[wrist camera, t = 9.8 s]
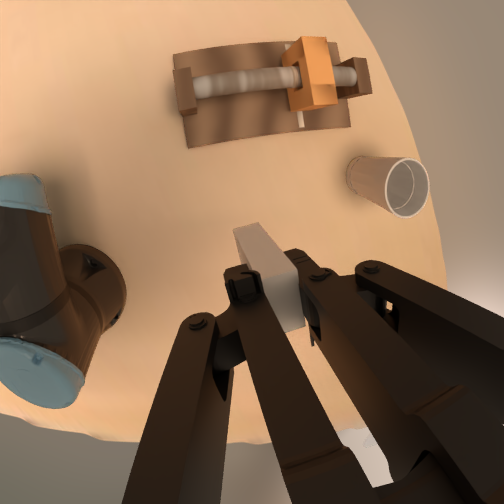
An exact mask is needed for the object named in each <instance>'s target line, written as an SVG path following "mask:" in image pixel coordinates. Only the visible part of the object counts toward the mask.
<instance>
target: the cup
mask: <svg viewBox="0 0 504 504" xmlns="http://www.w3.org/2000/svg"><path fill="white" fill-rule="evenodd" d="M346 181H347V184H348V186H349V188H350V189H351V190H352V191H353V192H355V193H357V194H359V195H361V196H363V197H365V198H367V199H368V200H370V201H372V202H374V203H376V204H377V205H379V206H381V207H383V208H384V209H386V210H387V211H389V212H391V213H392V214H394V215H395V216H397V217H399V218H404V219H406V218H411V217H413V216H415V215H417V214H418V213H419V212H420V211H421V210H422V208H423V207H424V205H425V203H426V201H427V199H428V195H429V188H430V185H429V177H428V174H427V171H426V169H425V168H424V166H423V165H422V164H421V163H420V162H419V161H418V160H416V159H414V158H397V157H394V158H392V157H365V156H360V157H357V158H355V159H353V160H352V161H351V162H350V164H349V165H348V168H347V171H346Z"/></svg>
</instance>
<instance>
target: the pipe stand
mask: <svg viewBox="0 0 504 504" xmlns="http://www.w3.org/2000/svg"><path fill="white" fill-rule="evenodd" d="M295 42H296V41H287V42H262V43H248V44H237V45H228V46H220V47H213V48H206V49H200V50H194V51H188V52H183V53H178V54H173V58H174V65H175V70H173V76H174V82H175V89H176V95H177V101H178V107H179V112H180V113H181V115H182V116H183V121H184V127H185V132H186V138H187V144H188V149H189V148H193V147H198V146H203V145H208V144H214V143H219V142H225V141H230V140H236V139H243V138H249V137H256V136H263V135H270V134H278V133H286V132H295V131H305V130H316V129H329V128H344V127H351V123H350V116H349V109H348V102H347V99H348V98H353V97H357V96H362V95H367V94H372V87H371V81H370V76H369V70H368V65H367V60H366V58H356V57H353V58H351V59H348V60H346V61H344V62H342V63H341V62H340V57H339V52H338V47H337V43H335V42H327V44H328V49H329V54H330V59H331V64H332V69H333V74H334V80H335V86H336V92H337V98H338V104H336V105H332V106H327V107H323V108H319V109H315V110H309V111H296V112H291V110H290V104H289V98H288V92H287V88H297V87H303V84H302V79H301V73H300V68H299V66H288V67H283V64H282V58H281V55H282V54H283V53H284V52H285V51H286V50H287V49H288V48H289V47H291V46H292V45H293V44H294V43H295Z"/></svg>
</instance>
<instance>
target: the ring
mask: <svg viewBox="0 0 504 504" xmlns="http://www.w3.org/2000/svg"><path fill="white" fill-rule="evenodd" d="M281 58H282V64H283V67H288V66H299V68H300V73H301V79H302V84H303V87H297V88H287V92H288V98H289V104H290V110H291V112H296V111H309V110H315V109H319V108H323V107H327V106H332V105H336V104H338V98H337V92H336V86H335V80H334V74H333V69H332V64H331V59H330V54H329V49H328V44H327V40H326V37H307V36H301V37H300V38H299V39H298V40H297V41H296V42H295V43H294V44H293V45H292V46H291V47H289V48H288V49H287V50H286V51H285V52H284V53H283V54H282V55H281Z"/></svg>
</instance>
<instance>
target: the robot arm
mask: <svg viewBox="0 0 504 504" xmlns="http://www.w3.org/2000/svg"><path fill="white" fill-rule="evenodd" d="M51 215H52V212H51V210H50V209H49V207H48V203H47V198H46V193H45V189H44V185H43V182H42V181H41V179H40V178H39V177H38V176H36V175H34V174H12V175H3V176H0V381H1V382H2V383H3V384H4V385H5V386H6V387H7V388H8V389H9V390H10V391H12V392H13V393H14V394H16V395H17V396H19V397H21V398H23V399H24V400H26V401H28V402H30V403H32V404H35V405H37V406H41V407H44V408H51V409H61V408H65V407H68V406H70V405H71V404H72V403H73V402H74V401H75V400H76V398H77V396H78V394H79V391H80V389H81V387H82V386H84V383H85V377H86V374H87V371H88V368H89V365H90V362H91V360H92V357H93V354H94V351H95V349H96V346H97V344H98V341H99V338H100V336H101V335H102V334H103V333H104V332H105V331H107V330H108V329H109V328H110V327H112V326H113V325H114V324H115V323H116V322H117V320H118V319H119V317H120V316H121V313H122V311H123V308H124V306H125V302H126V286H125V282H124V279H123V277H122V275H121V273H120V271H119V269H118V268H117V266H116V265H115V264H114V262H113V261H112V260H111V259H110V258H109V257H108V256H106V255H105V254H104V253H102V252H101V251H99V250H97V249H95V248H93V247H90V246H87V245H81V244H75V245H69V246H66V247H64V248H62V249H60V250H58V246H57V242H56V238H55V233H54V229H53V224H52V219H51ZM233 232H234V236H235V240H236V244H237V248H238V252H239V256H240V260H241V264H242V265H238V266H235V267H231V268H228V269H226V270H225V272H224V274H223V275H224V279H225V286H226V290H227V293H228V297H229V300H230V306H229V308H228V309H227V310H226V311H225V312H224V313H222V314H220V315H219V316H217V317H215V316H214V315H213V314H211V313H207V312H201V313H197V314H193V315H191V316H189V317H187V318H186V319H185V320H184V321H183V322H182V324H181V325H180V328H179V330H178V333H177V336H176V338H175V341H174V344H173V347H172V349H171V352H170V355H169V358H168V360H167V363H166V366H165V369H164V372H163V375H162V377H161V380H160V383H159V386H158V389H157V392H156V395H155V398H154V401H153V404H152V407H151V410H150V413H149V416H148V419H147V422H146V425H145V428H144V431H143V434H142V437H141V440H140V444H139V447H138V450H137V453H136V456H135V460H134V463H133V466H132V469H131V473H130V476H129V480H128V483H127V486H126V490H125V493H124V497H123V500H122V504H220V500H221V490H222V479H223V471H224V461H225V451H226V442H227V433H228V424H229V414H230V405H231V396H232V386H233V377H234V368H233V367H235V366H236V365H238V364H240V363H242V362H244V361H245V360H247V363H248V366H249V370H250V373H251V377H252V380H253V383H254V387H255V390H256V393H257V396H258V400H259V403H260V406H261V409H262V413H263V416H264V419H265V422H266V425H267V428H268V431H269V435H270V438H271V441H272V444H273V447H274V450H275V453H276V456H277V459H278V462H279V465H280V468H281V472H282V476H283V479H284V482H285V485H286V488H287V490H288V493H289V496H290V499H291V502H292V504H504V426H503V424H504V318H503V317H501V316H499V315H497V314H495V313H493V312H491V311H489V310H487V309H485V308H483V307H481V306H479V305H477V304H474V303H472V302H470V301H468V300H466V299H464V298H462V297H460V296H457V295H455V294H453V293H451V292H449V291H447V290H444V289H442V288H440V287H438V286H436V285H433V284H431V283H429V282H427V281H425V280H422V279H420V278H418V277H416V276H413V275H411V274H409V273H406V272H404V271H402V270H399V269H397V268H395V267H393V266H390V265H388V264H386V263H383V262H380V261H375V260H367V261H364V262H361V263H359V264H358V265H356V267H355V274H353V275H346V276H339V275H338V274H337V273H335V272H334V271H333V270H331V269H329V268H320V267H319V266H318V265H317V264H316V263H315V262H314V261H313V260H312V259H311V258H310V257H309V256H308V255H307V254H306V253H305V252H304V251H302V250H299V249H296V248H295V249H292V250H288V251H285V252H283V251H282V250H281V249H280V248H279V247H278V245H277V244H276V243H275V242H274V241H273V239H272V238H271V237H270V236H269V235H268V233H267V232H266V231H265V230H264V229H263V228H262V226H261V225H260V224H259V223H254V224H250V225H247V226H243V227H239V228H236V229H233ZM387 301H388V302H390V303H392V304H393V305H392V311H391V310H389V309H387V308H386V305H387ZM304 316H305V318H306V319H307V321H308V324H309V332H310V339H311V345H312V346H314V340H315V342H316V343H317V345H318V347H319V348H320V350H321V351H322V353H323V355H324V356H325V358H326V360H327V361H328V363H329V364H330V366H331V368H332V369H333V371H334V373H335V374H336V376H337V378H338V379H339V381H340V382H341V384H342V386H343V387H344V389H345V391H346V392H347V394H348V396H349V397H350V399H351V400H352V402H353V404H354V405H355V407H356V409H357V410H358V412H359V414H360V415H361V417H362V419H363V420H364V422H365V423H366V425H367V427H368V428H369V430H370V432H371V433H372V435H373V437H374V438H375V440H376V442H377V443H378V445H379V447H380V448H381V450H382V452H383V453H384V455H385V457H386V459H387V461H388V465H389V471H390V474H391V477H392V479H393V481H394V482H393V483H390V484H386V485H382V486H379V487H375V488H372V486H371V484H370V482H369V480H368V478H367V477H366V475H365V473H364V471H363V469H362V467H361V465H360V464H359V462H358V460H357V458H356V457H355V455H354V453H353V452H352V451H351V450H350V448H349V447H346V446H344V445H343V444H342V443H341V441H340V439H339V438H338V436H337V434H336V432H335V430H334V428H333V426H332V424H331V422H330V420H329V418H328V416H327V414H326V412H325V410H324V408H323V406H322V405H321V403H320V401H319V399H318V397H317V395H316V393H315V391H314V389H313V387H312V385H311V383H310V381H309V379H308V377H307V375H306V373H305V371H304V370H303V368H302V366H301V364H300V362H299V360H298V358H297V356H296V354H295V352H294V350H293V348H292V346H291V344H290V342H289V340H288V338H287V336H286V334H285V333H287V332H290V331H293V330H296V329H299V328H302V327H305V326H306V325H305V318H304Z"/></svg>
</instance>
